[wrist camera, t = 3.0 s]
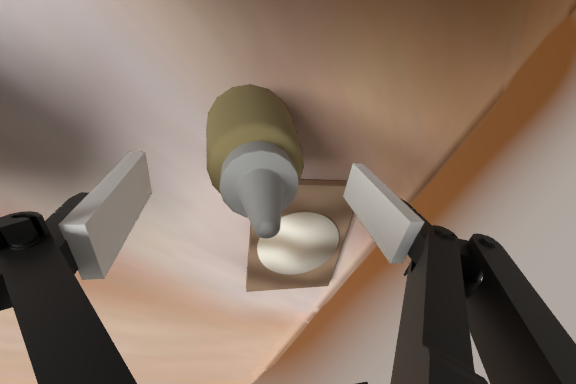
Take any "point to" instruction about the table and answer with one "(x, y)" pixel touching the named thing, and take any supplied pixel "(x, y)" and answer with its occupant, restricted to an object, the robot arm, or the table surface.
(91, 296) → the table surface
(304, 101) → the table surface
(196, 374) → the table surface
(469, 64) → the table surface
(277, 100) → the squeeze bottle
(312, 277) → the walnut board
